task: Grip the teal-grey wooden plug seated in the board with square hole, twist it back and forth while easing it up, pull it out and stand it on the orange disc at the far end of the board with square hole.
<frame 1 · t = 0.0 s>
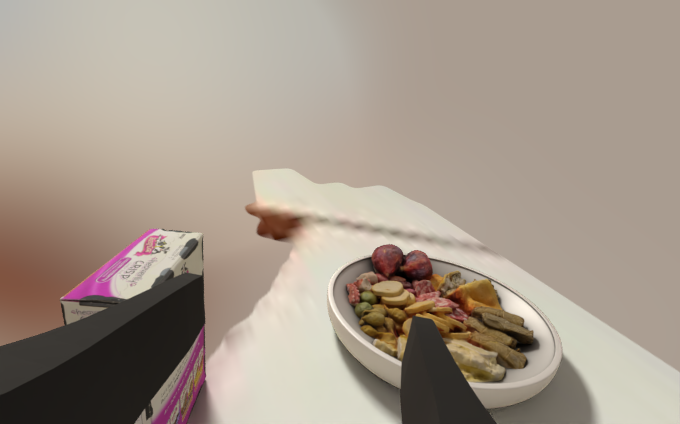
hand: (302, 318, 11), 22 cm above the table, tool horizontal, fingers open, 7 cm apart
bowl: (429, 332, 48), on the table
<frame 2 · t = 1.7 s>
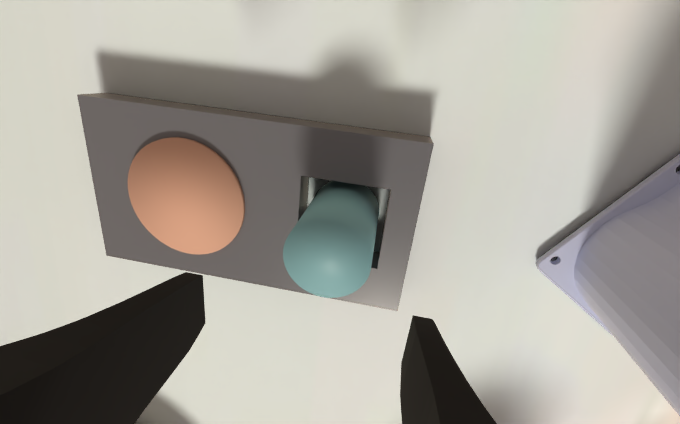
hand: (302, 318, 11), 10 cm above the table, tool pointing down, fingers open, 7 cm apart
orange disc: (187, 198, 20), resting on board with square hole
plug: (337, 231, 18), in the board with square hole
board with square hole: (345, 210, 21), on the table
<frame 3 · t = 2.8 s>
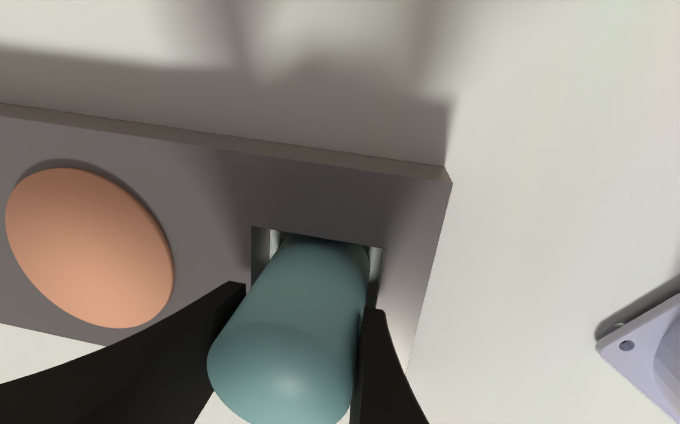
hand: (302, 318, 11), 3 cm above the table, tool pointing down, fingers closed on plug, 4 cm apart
orange disc: (93, 252, 14), resting on board with square hole
plug: (305, 310, 12), in the board with square hole, touching gripper
board with square hole: (323, 266, 15), on the table
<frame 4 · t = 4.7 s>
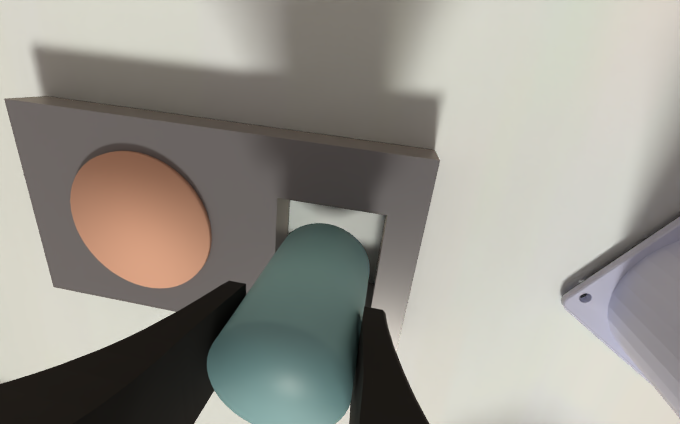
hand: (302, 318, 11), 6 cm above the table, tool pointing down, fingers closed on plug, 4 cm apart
orange disc: (143, 223, 16), resting on board with square hole
plug: (305, 310, 12), point 6 cm above the table, touching gripper
board with square hole: (333, 236, 17), on the table
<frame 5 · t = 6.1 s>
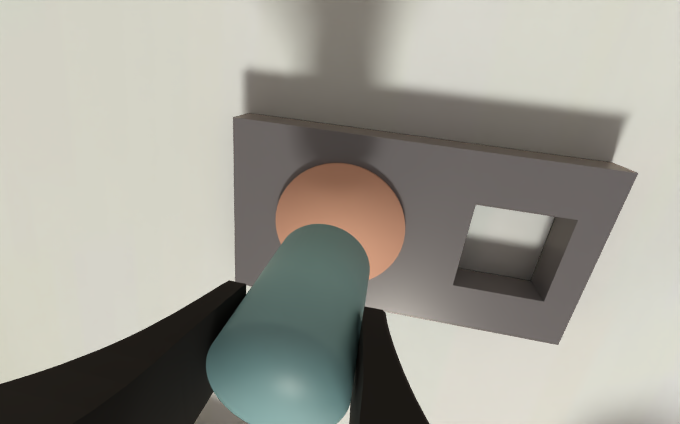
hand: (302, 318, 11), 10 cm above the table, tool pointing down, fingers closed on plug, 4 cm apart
orange disc: (339, 226, 18), resting on board with square hole
plug: (305, 311, 12), point 9 cm above the table, touching gripper
board with square hole: (500, 237, 19), on the table
when the fingers open (7 cm above the table, at t = 6.9 s): plug drops 1 cm, resting on orange disc.
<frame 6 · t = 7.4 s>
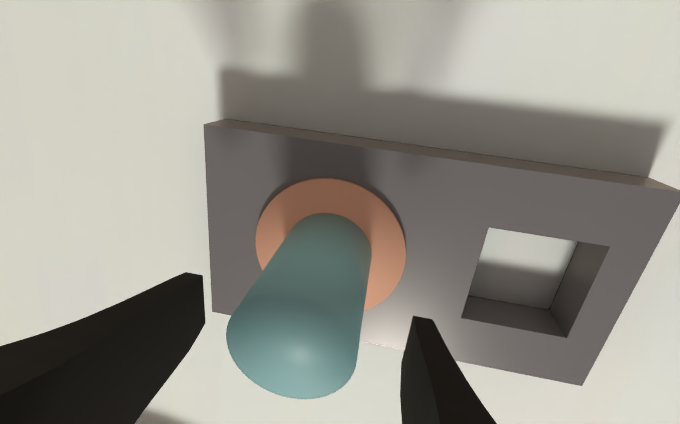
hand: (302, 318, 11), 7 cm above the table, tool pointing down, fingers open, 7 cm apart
orange disc: (329, 250, 16), resting on board with square hole
plug: (313, 291, 13), point 5 cm above the table, touching orange disc
board with square hole: (515, 262, 17), on the table
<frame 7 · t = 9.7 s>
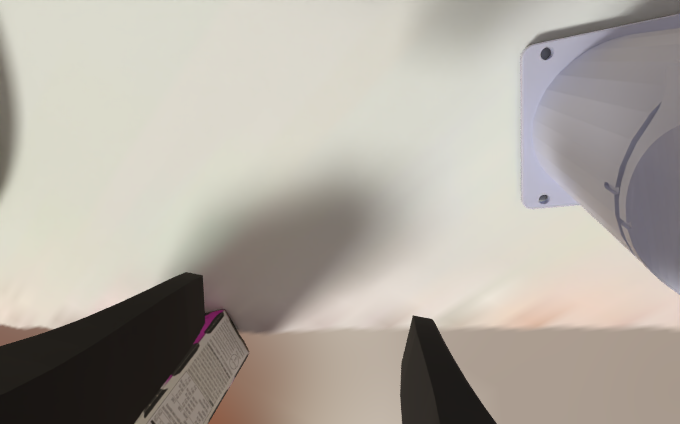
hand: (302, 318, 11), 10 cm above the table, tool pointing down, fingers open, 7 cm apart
candy bar box: (192, 338, 30), on the table
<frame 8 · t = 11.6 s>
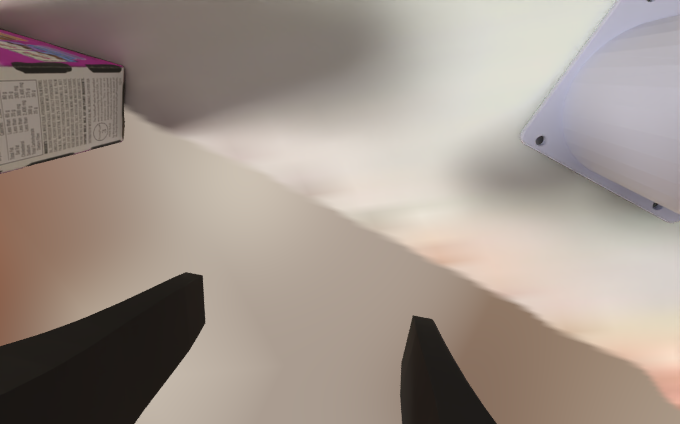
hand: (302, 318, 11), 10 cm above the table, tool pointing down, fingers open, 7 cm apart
candy bar box: (49, 83, 21), on the table
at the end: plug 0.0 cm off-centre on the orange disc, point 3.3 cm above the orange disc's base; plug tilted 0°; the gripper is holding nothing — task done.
